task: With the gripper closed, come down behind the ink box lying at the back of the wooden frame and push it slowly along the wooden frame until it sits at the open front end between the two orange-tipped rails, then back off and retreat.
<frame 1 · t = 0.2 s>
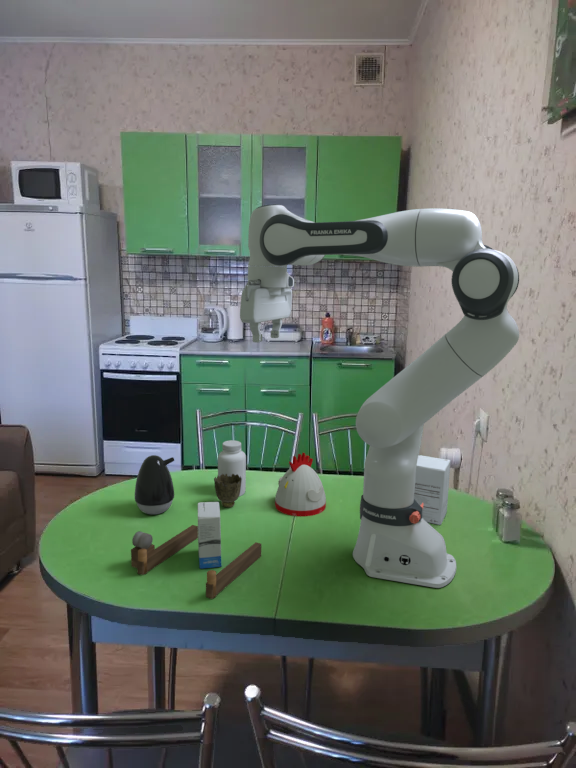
hand: (266, 339, 128), 47 cm above the table, fingers open, 8 cm apart
kitchen timer: (300, 506, 151), on the table
cup: (228, 506, 150), on the table
pill bottle: (231, 493, 159), on the table
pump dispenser: (155, 511, 146), on the table
ink box: (209, 559, 122), on the table
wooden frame: (201, 564, 120), on the table
supplement box: (426, 516, 146), on the table
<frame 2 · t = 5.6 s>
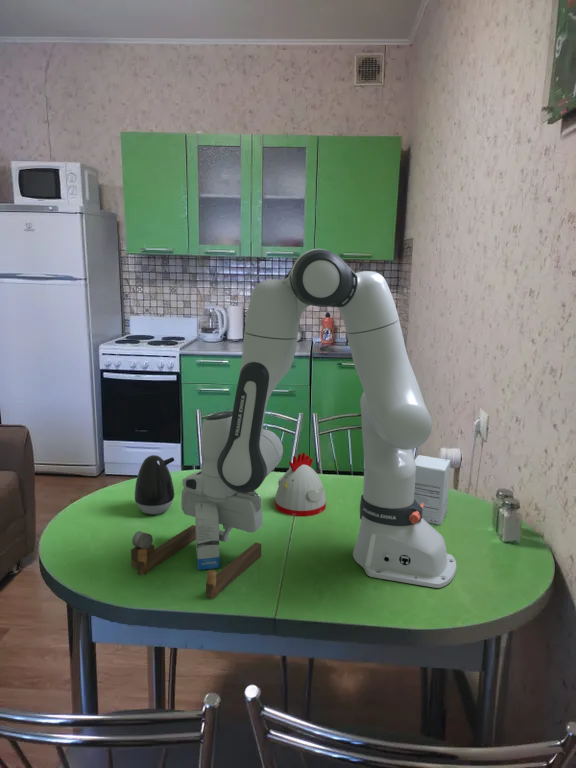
hand: (221, 539, 126), 2 cm above the table, fingers closed
ink box: (207, 560, 122), on the table, touching gripper
everything else where it was.
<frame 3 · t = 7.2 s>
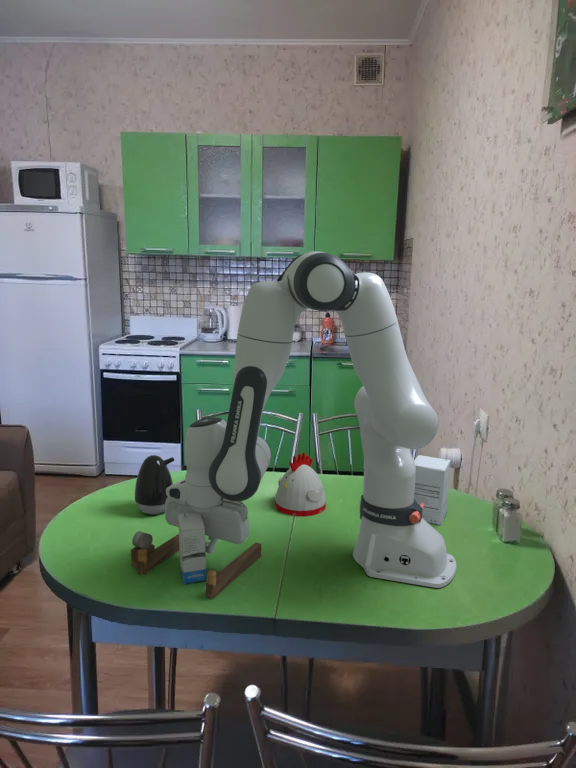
hand: (206, 551, 121), 2 cm above the table, fingers closed
ink box: (192, 573, 117), on the table, touching gripper
everything else where it was.
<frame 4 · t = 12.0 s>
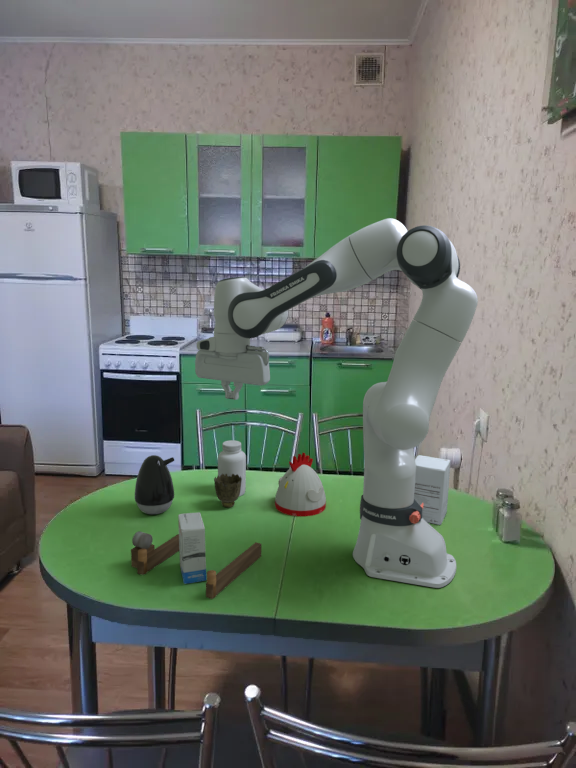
hand: (232, 398, 138), 31 cm above the table, fingers closed
ink box: (192, 573, 117), on the table
everything else where it was.
at the end: ink box inside the target area (1.4 cm from its centre), on the table; ink box moved 6.4 cm from its start; the gripper is holding nothing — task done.
